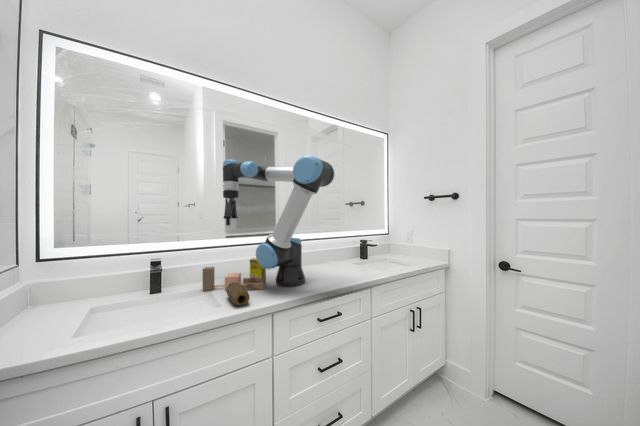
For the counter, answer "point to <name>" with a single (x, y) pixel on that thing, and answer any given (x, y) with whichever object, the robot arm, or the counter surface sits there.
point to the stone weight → (237, 293)
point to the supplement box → (255, 268)
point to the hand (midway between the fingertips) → (231, 231)
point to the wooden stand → (255, 282)
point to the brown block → (209, 279)
